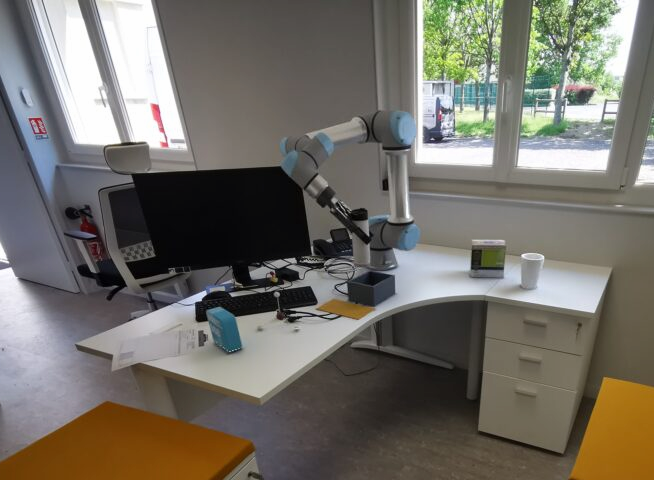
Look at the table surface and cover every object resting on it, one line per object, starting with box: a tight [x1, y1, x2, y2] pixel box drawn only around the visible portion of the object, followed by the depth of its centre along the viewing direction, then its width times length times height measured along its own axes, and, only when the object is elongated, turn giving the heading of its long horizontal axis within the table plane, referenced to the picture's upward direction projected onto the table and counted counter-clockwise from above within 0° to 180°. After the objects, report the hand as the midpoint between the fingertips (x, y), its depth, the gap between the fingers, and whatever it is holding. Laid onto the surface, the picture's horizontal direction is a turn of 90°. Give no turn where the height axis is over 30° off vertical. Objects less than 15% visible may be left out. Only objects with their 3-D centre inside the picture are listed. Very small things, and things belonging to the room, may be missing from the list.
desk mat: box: [315, 298, 376, 321], centre depth 174 cm, size 20×11×1 cm, turn 61°
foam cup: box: [520, 252, 545, 290], centre depth 191 cm, size 10×9×13 cm
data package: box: [205, 306, 243, 354], centre depth 145 cm, size 12×4×12 cm, turn 45°
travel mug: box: [350, 207, 370, 268], centre depth 167 cm, size 6×7×20 cm
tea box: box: [469, 239, 507, 278], centre depth 204 cm, size 15×10×15 cm
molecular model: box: [256, 291, 301, 332], centre depth 158 cm, size 13×15×13 cm
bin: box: [346, 269, 396, 308], centre depth 183 cm, size 13×16×8 cm
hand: (370, 239), depth 167 cm, fingers closed on travel mug, 6 cm apart
